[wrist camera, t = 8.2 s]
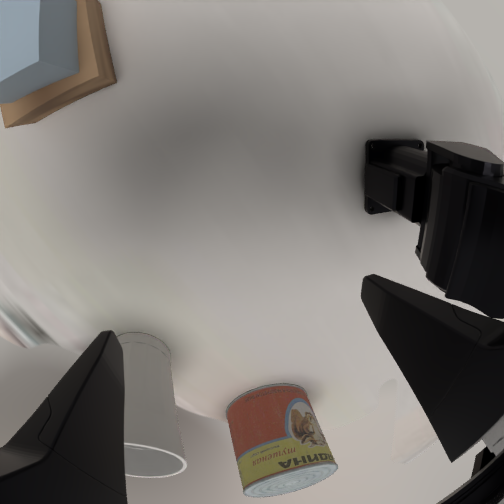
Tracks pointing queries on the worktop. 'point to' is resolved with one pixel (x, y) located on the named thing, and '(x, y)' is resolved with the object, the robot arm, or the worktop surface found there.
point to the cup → (150, 409)
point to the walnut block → (78, 85)
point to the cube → (36, 45)
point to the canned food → (278, 441)
